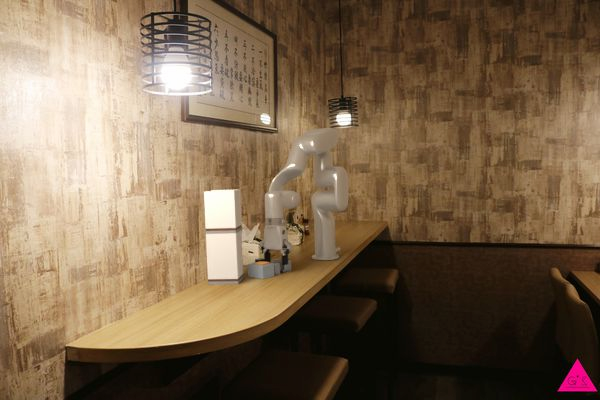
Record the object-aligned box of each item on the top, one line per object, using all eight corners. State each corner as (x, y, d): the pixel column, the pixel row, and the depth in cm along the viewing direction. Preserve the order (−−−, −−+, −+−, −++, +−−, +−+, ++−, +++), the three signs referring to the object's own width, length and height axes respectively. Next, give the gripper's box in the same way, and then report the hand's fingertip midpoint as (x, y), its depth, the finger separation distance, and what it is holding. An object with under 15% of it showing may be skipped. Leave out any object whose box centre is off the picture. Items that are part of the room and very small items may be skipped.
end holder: (259, 273, 209) (259, 261, 209) (274, 275, 204) (273, 263, 204) (248, 276, 204) (247, 264, 204) (263, 279, 199) (262, 266, 199)
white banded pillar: (243, 278, 202) (240, 189, 200) (238, 284, 191) (234, 190, 189) (215, 278, 203) (211, 190, 201) (208, 284, 192) (203, 191, 190)
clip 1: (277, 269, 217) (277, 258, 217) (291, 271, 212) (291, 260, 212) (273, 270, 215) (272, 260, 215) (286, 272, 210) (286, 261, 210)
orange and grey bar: (283, 267, 217) (282, 256, 217) (291, 268, 214) (291, 257, 214) (254, 274, 204) (254, 262, 204) (263, 275, 202) (262, 263, 201)
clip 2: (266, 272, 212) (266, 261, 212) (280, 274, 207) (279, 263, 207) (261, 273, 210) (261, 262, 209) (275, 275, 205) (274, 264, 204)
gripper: (296, 222, 207) (298, 264, 208) (265, 220, 218) (267, 260, 219) (284, 224, 201) (286, 267, 202) (253, 222, 212) (254, 263, 213)
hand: (276, 263), depth 211 cm, fingers open, 9 cm apart
